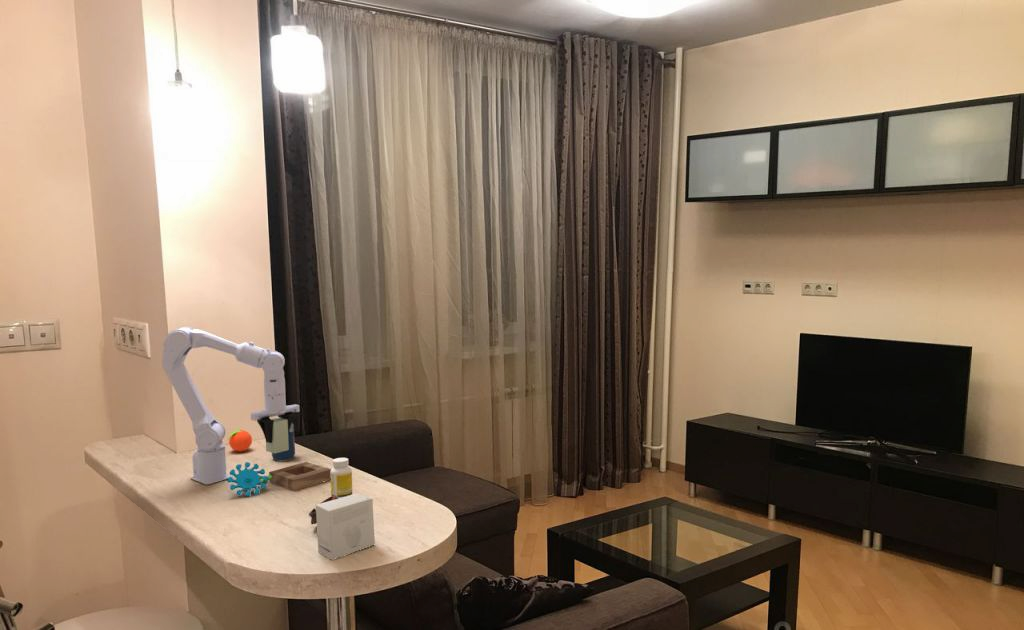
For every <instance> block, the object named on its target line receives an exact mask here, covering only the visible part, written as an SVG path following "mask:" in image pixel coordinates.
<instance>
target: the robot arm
mask: <svg viewBox="0 0 1024 630" xmlns="http://www.w3.org/2000/svg"><path fill="white" fill-rule="evenodd" d="M162 347H163V350H162V359H161V366H162V368H163V371H165V375H166V376H167V378H168V379H169V381H170V383H171V385H172V387H173V389H174V391H175V393H176V395H177V396H178V398H179V400H180V402H181V404H182V406H183V407H184V409H185V411H186V413H187V415H188V417H189V418H190V420H191V423H192V431H193V433H194V434H195V444H196V446H197V448H196V449H195V450H194V452H193V454H192V469H193V470H192V471H193V473H192V476H190V480H194V481H196V482H198V483H201V484H204V485H210V484H213V483H219V482H221V481H225V480H228V478H229V477H232V478H233V477H234V476H233V475H230V474H229V473H227V462H226V460H227V458H226V457H227V456H226V444H225V443H224V441H223V439H224V438H225V436H226V428H225V427H224V425H223V424H222V423H220V422H219V421H218V420H217V418H216V416H214V414H212V413H211V412H210V410H209V409H208V407H207V404H206V403H205V401H204V399H203V398H202V395H201V393H200V392H199V390H198V387H197V386H196V384H195V382H194V381H193V378H192V377H191V375H190V373H189V371H188V369H187V368H186V366H185V361H186V358H187V356H188V354H189V352H190V351H191V350H192V349H197V348H204V347H206V348H209V349H212V350H216V351H220V352H223V353H226V354H230V355H233V356H234V358H235V359H236V361H237V362H239V363H242V364H246V365H248V366H250V367H254V368H258V369H262V371H263V373H264V374H263V375H264V378H263V392H264V409H261V410H258V411H255V412H251V413H250V420H251V421H255V422H257V424H258V425H259V427H260V429H261V430H262V433H263V436H264V439H265V443H266V442H268V443H272V428H273V422H274V420H271V419H272V417H279V418H284V419H287V420H288V435H289V430H290V427H291V424H292V423H293V422H294V420H295V418H296V414H295V413H299V412H300V405H299V404H290V405H287V403H286V379H285V371H284V366H285V363H286V361H285V360H286V359H285V357H284V355H283V354H282V353H281V352H280V351H279V352H278V351H277V350H271V348H268V347H267V348H263V347H260V346H257V345H255V342H253V341H249V342H246V341H245V342H242V343H239V344H238V343H236V342H233V341H230V340H228V339H226V338H222V337H220V336H217V335H215V334H213V333H210V332H207V331H205V330H201V329H198V328H194V329H193V327H190V326H182V327H179V328H177V329H174V330H171V331H169V333H168V334H167V335H166V337H165V339H164V341H163V342H162ZM233 479H234V478H233Z"/></svg>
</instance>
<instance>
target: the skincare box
mask: <svg viewBox="0 0 1024 630" xmlns="http://www.w3.org/2000/svg"><path fill="white" fill-rule="evenodd" d="M320 503H321V502H320ZM320 503H317V504H315V509H316V518H317V523H316V529H317V530H316V532H317V549H318V551H317V552H318V553H319V552H320V554H321V555H323V556H324V557H326V558H328V559H329V558H330V560H331V559H332V560H331V561H334V560H333V559H335V558H337V559H339V558H338V557H340V558H342V557H341V556H343V557H345V556H344V555H346V556H348V555H347V554H349V555H351V554H350V553H352V554H354V553H353V552H355V551H357V552H359V551H358V550H360V549H363V548H366V547H369V546H372V545H374V544H375V545H376V539H375V523H374V522H375V520H374V507H373V505H374V503H373V498H372V497H370V496H368V495H364V494H363V493H359V492H357V493H352V495H349V496H346V497H342V498H339V499H335V500H332V501H328V502H324V503H321V504H320ZM372 547H373V546H372ZM369 548H370V547H369ZM366 549H367V548H366ZM363 550H364V549H363ZM360 551H361V550H360ZM355 553H356V552H355ZM335 560H336V559H335Z"/></svg>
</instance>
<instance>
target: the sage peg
mask: <svg viewBox="0 0 1024 630" xmlns="http://www.w3.org/2000/svg"><path fill="white" fill-rule="evenodd" d="M270 419H271V420H274V422H273V428H272V443H268V442H266V441H265V451H266V452H269V453H271V454H272V453H279V452H283V451H287V450H289V443H288V420H287V419H284V418H279V416H277V417H274V418H270Z"/></svg>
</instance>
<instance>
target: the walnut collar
mask: <svg viewBox="0 0 1024 630" xmlns="http://www.w3.org/2000/svg"><path fill="white" fill-rule="evenodd" d="M331 469H332V468H328V467H325V466H322V465H318V464H316V463H315V464H314V463H311V462H308V461H304V462H302V463H301V462H300V463H297V464H293V465H290V466H286V467H282V468H278V469H274V470H271V471H269V472H268V475H271V476H272V477H271V480H269V481H268V483H270V484H273V485H276V486H279V487H282V488H284V489H287V490H290V491H293V492H296V491H298V490H302V489H305V487H306V488H308V486H309V487H311V485H312V486H315V485H318V484H317V483H319V484H321V483H320V482H322V483H324V482H323V481H325V482H327V481H326V480H328V481H331V480H330V479H331V475H330V471H331ZM314 484H315V485H314Z"/></svg>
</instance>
